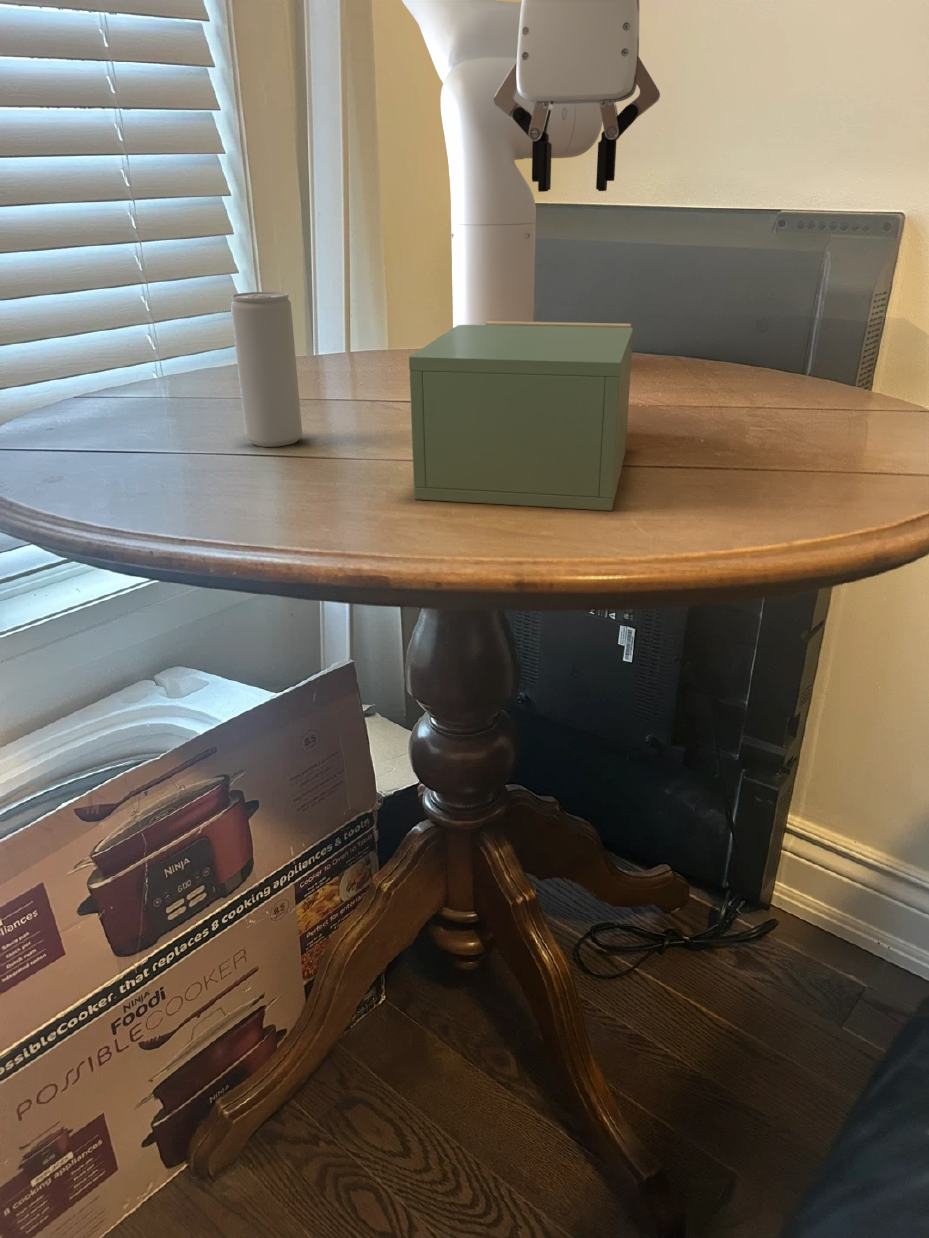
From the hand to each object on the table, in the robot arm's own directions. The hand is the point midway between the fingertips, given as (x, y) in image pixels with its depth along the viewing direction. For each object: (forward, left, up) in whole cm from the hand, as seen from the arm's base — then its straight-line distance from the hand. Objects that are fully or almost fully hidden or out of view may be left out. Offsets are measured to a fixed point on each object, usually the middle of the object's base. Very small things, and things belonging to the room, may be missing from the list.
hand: (572, 188), depth 83 cm
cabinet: (+24, 0, -19) cm, 31 cm away
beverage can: (+18, -23, -20) cm, 35 cm away
